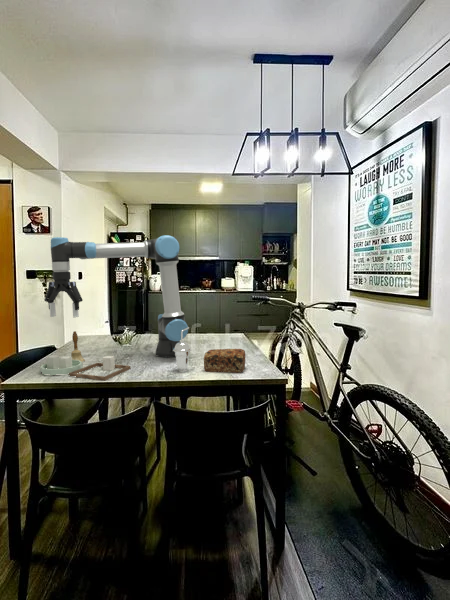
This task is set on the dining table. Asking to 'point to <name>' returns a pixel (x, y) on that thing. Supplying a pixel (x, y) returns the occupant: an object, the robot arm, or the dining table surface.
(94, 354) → the dining table surface
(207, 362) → the bread
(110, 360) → the white upright block
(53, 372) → the bowl
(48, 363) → the white rectangular block
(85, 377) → the tray
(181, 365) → the cup with straw
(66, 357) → the white block
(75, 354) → the hand bell
